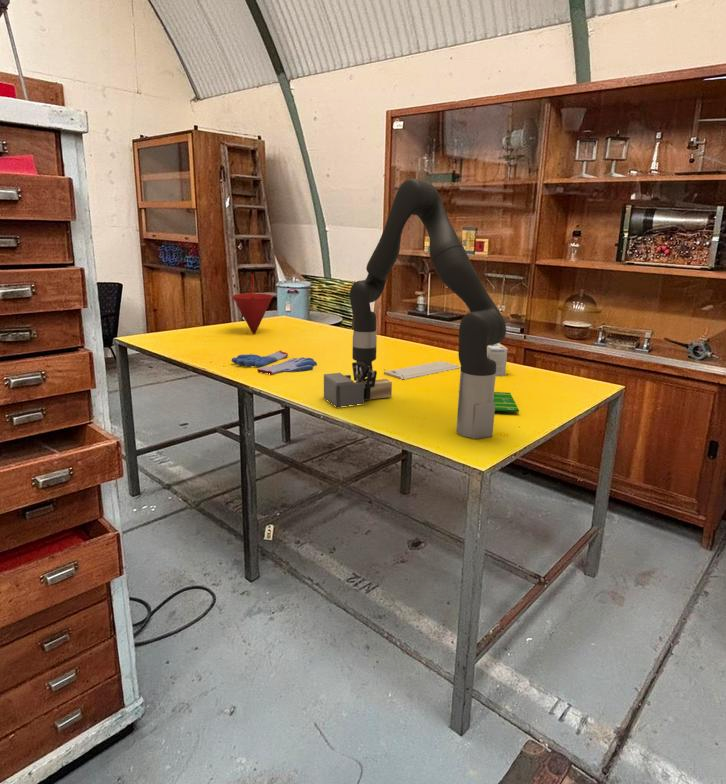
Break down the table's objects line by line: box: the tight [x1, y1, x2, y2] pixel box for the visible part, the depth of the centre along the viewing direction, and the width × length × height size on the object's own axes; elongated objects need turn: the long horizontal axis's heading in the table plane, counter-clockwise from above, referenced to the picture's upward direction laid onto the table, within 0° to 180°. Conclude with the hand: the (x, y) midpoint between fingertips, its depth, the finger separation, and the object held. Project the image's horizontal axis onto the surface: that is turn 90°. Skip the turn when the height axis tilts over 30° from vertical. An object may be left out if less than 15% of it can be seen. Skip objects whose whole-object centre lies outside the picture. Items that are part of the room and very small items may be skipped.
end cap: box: [323, 372, 365, 408], centre depth 180 cm, size 11×9×8 cm
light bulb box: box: [487, 342, 509, 377], centre depth 219 cm, size 11×7×11 cm, turn 5°
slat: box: [354, 378, 393, 401], centre depth 184 cm, size 4×18×5 cm, turn 115°
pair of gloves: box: [231, 350, 318, 376], centre depth 226 cm, size 32×26×4 cm
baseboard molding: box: [383, 360, 461, 381], centre depth 220 cm, size 31×3×12 cm
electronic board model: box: [493, 391, 520, 413], centre depth 186 cm, size 30×7×15 cm
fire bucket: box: [231, 273, 274, 335], centre depth 280 cm, size 22×20×30 cm
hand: (363, 396), depth 184 cm, fingers closed on slat, 4 cm apart
